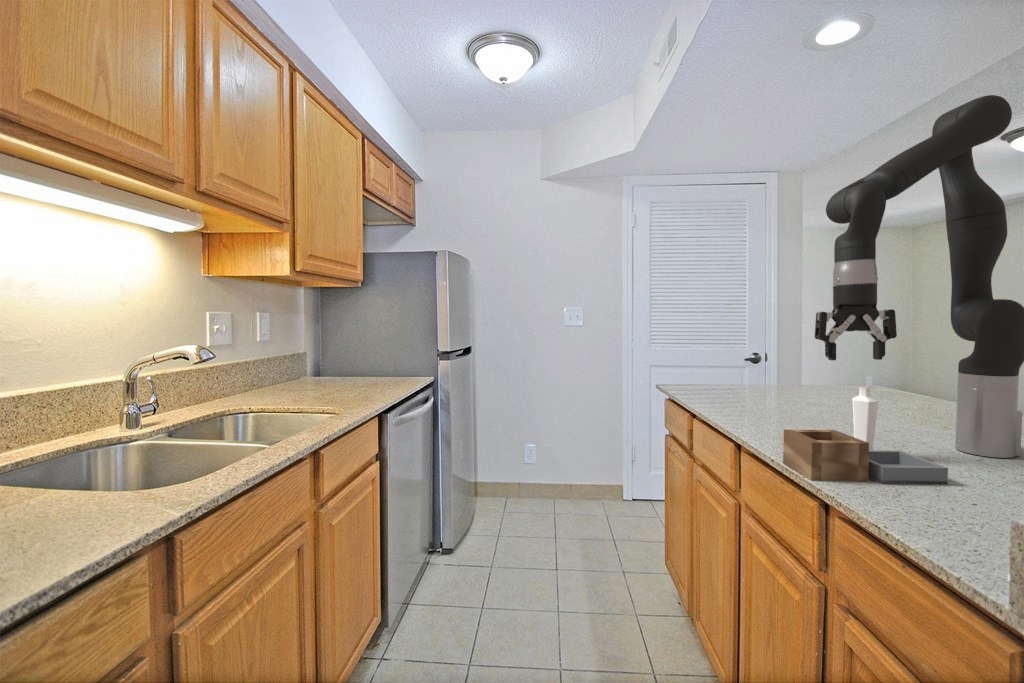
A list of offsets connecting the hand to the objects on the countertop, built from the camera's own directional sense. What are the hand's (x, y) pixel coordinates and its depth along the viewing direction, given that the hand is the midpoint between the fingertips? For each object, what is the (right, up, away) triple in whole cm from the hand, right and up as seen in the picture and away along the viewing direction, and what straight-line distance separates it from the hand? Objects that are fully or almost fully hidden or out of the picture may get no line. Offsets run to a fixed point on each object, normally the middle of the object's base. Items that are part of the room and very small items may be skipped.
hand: (854, 359), depth 99 cm
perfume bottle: (+2, -21, +1) cm, 21 cm away
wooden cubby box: (-12, -21, -8) cm, 26 cm away
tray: (0, -21, -10) cm, 24 cm away
